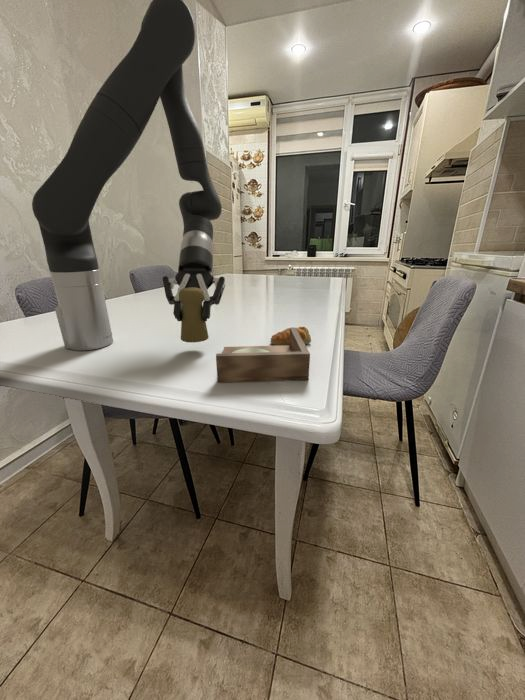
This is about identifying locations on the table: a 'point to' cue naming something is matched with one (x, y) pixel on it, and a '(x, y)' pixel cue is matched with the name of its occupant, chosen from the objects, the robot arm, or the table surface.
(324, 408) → the table surface
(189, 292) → the cork
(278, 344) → the pastry
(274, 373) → the corner tray
